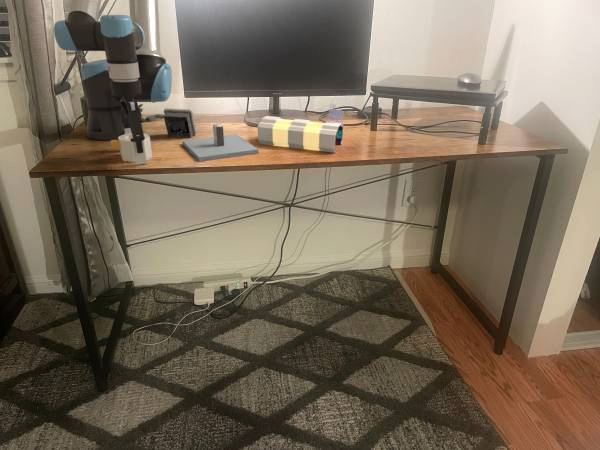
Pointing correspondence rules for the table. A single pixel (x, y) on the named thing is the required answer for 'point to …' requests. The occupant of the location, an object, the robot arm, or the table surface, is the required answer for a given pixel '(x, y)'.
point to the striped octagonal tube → (302, 133)
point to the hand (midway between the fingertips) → (136, 156)
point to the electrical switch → (179, 123)
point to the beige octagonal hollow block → (131, 147)
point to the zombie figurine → (149, 118)
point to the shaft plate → (219, 146)
